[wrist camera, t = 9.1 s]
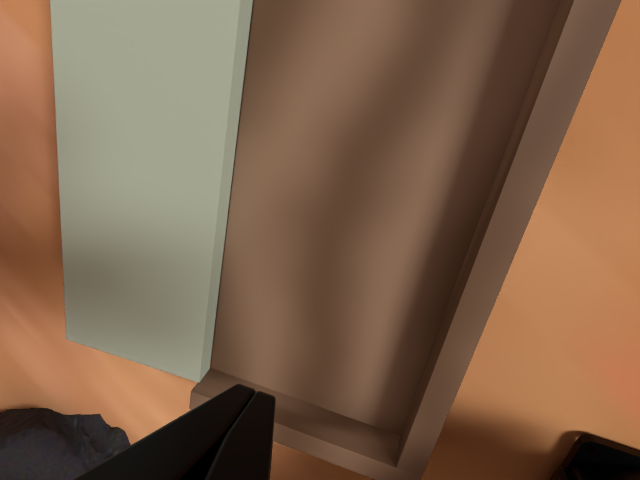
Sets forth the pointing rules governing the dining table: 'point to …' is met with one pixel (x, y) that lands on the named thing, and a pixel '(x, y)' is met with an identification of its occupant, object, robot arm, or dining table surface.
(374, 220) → the brown shallow tray
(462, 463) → the dining table surface
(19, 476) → the dark slate chunk
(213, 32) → the tailgate
